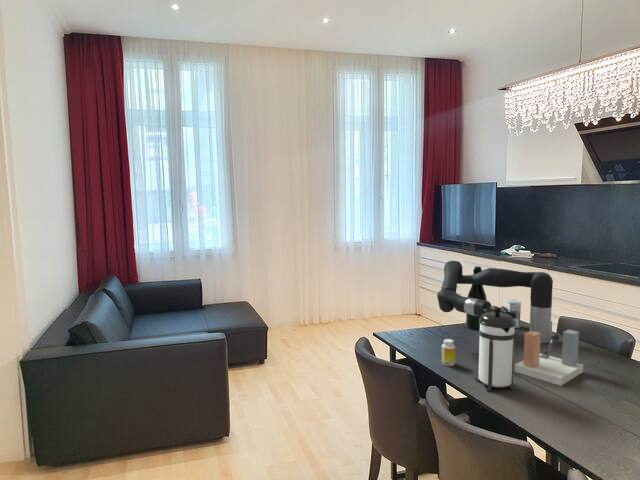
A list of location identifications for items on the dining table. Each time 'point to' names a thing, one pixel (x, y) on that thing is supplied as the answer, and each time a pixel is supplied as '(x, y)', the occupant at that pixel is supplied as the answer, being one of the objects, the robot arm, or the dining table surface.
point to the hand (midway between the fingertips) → (515, 316)
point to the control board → (550, 370)
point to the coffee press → (496, 349)
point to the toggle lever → (551, 343)
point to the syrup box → (515, 310)
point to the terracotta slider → (531, 348)
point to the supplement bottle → (448, 353)
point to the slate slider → (570, 347)
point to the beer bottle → (476, 293)
